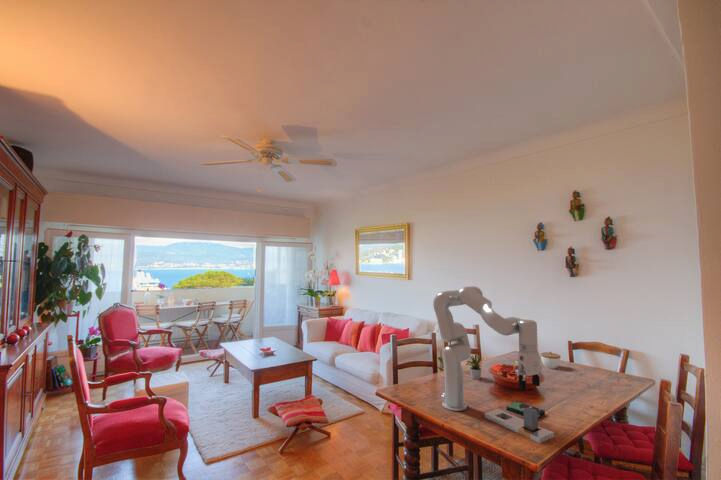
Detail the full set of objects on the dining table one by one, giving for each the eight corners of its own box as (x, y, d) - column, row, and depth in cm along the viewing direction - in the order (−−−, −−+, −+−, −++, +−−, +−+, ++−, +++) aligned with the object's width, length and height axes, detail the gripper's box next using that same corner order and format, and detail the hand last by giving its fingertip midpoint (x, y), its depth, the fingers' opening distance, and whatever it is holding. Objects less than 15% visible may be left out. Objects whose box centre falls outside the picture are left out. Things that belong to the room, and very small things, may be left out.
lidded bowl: (545, 363, 257) (544, 348, 258) (563, 367, 247) (563, 352, 248) (538, 367, 249) (537, 351, 250) (556, 371, 239) (556, 355, 240)
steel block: (524, 432, 151) (523, 409, 152) (529, 430, 153) (528, 407, 154) (532, 436, 148) (531, 412, 148) (538, 434, 150) (537, 410, 150)
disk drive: (545, 416, 169) (516, 406, 181) (545, 410, 169) (516, 400, 181) (535, 422, 163) (506, 411, 174) (535, 415, 163) (505, 405, 174)
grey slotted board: (484, 417, 166) (484, 413, 166) (498, 413, 171) (498, 408, 171) (539, 443, 142) (539, 438, 142) (553, 437, 147) (553, 432, 147)
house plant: (464, 373, 234) (463, 348, 235) (485, 375, 230) (484, 350, 231) (463, 379, 221) (463, 354, 222) (486, 382, 216) (485, 355, 218)
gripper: (523, 352, 145) (524, 393, 144) (547, 347, 154) (548, 386, 153) (508, 348, 152) (509, 387, 151) (532, 344, 161) (533, 381, 159)
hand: (529, 387), depth 152 cm, fingers open, 9 cm apart
